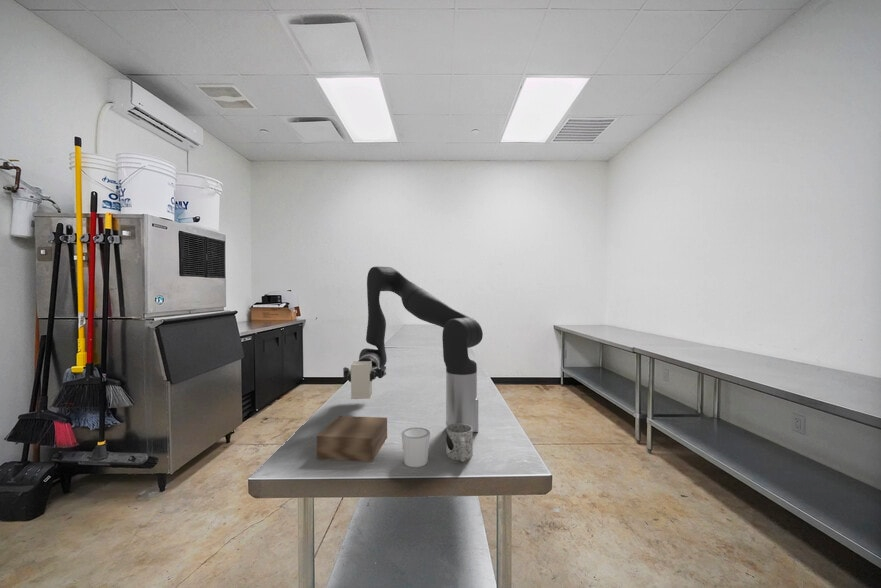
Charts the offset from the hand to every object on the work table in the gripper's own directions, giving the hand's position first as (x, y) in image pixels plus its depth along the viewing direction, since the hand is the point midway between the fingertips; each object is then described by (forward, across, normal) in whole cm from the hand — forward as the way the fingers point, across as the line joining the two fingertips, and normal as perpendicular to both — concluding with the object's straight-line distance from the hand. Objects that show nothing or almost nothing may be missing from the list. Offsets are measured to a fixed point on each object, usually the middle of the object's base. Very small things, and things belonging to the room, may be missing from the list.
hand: (360, 378), depth 101 cm
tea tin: (-3, 0, +6) cm, 7 cm away
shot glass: (+19, +16, +16) cm, 30 cm away
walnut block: (+10, 0, +16) cm, 19 cm away
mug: (+18, +27, +16) cm, 36 cm away
